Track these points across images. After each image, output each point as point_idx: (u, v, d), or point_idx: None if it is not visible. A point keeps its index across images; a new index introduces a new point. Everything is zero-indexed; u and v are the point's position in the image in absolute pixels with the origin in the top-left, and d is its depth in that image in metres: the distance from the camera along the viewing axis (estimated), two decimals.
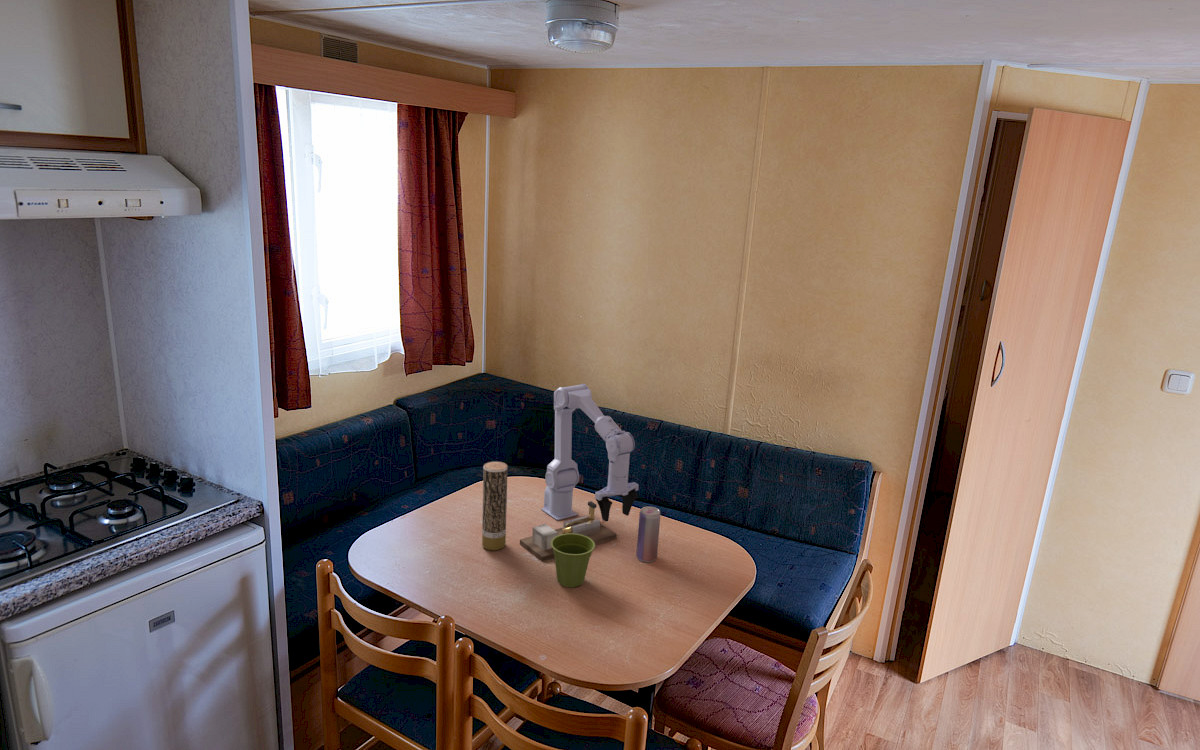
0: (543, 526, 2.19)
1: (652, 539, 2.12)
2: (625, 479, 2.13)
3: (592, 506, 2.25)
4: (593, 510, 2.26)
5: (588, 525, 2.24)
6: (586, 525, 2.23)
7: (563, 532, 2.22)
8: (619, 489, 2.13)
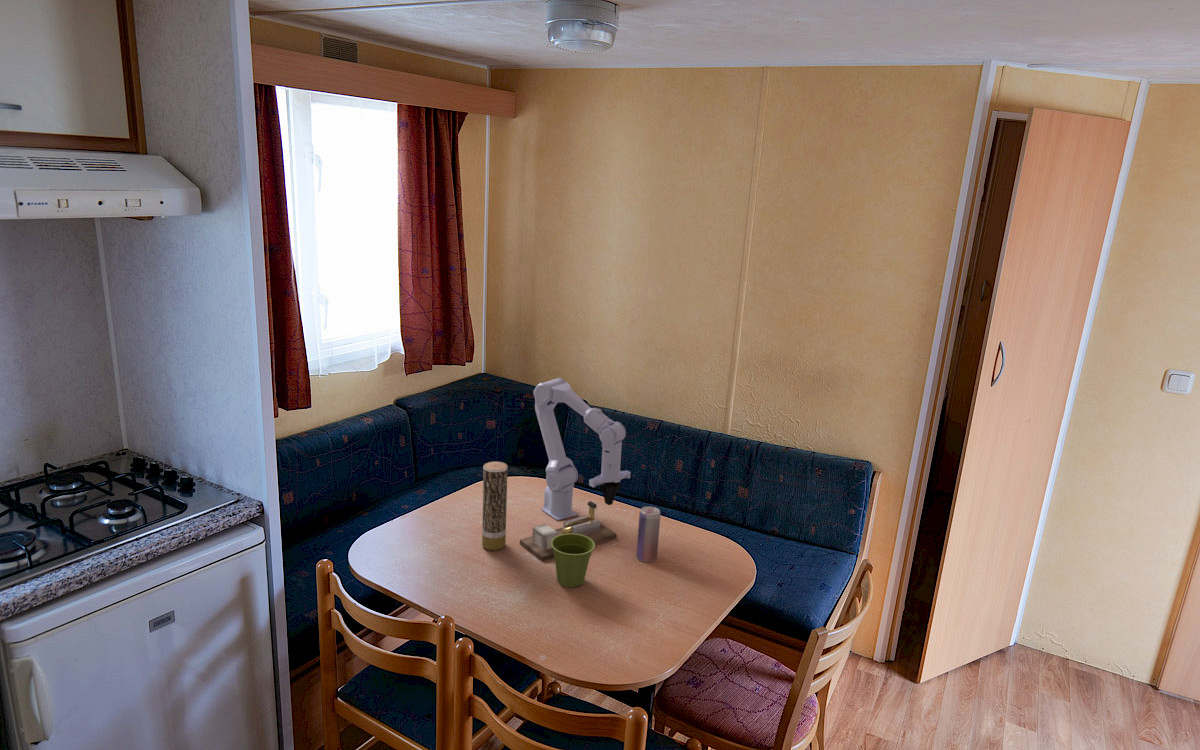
0: (543, 526, 2.19)
1: (652, 539, 2.12)
2: (617, 467, 2.25)
3: (592, 506, 2.25)
4: (593, 510, 2.26)
5: (588, 525, 2.24)
6: (586, 525, 2.23)
7: (563, 532, 2.22)
8: (612, 476, 2.25)
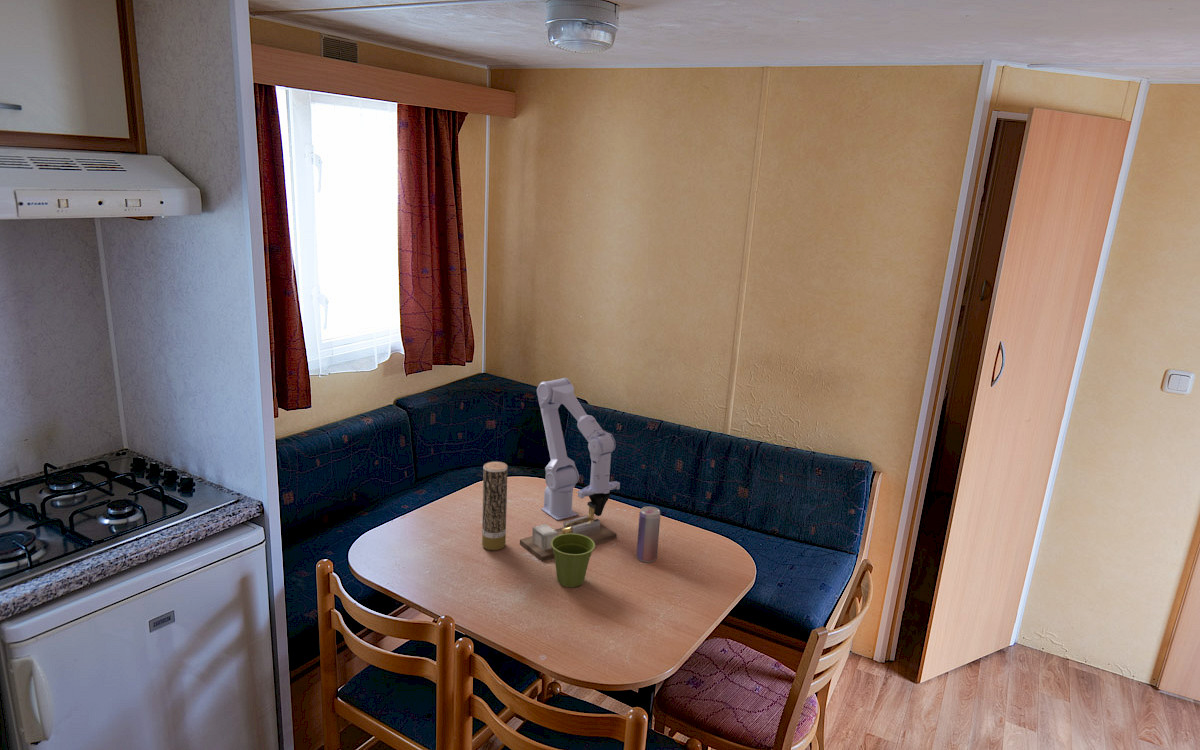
0: (543, 526, 2.19)
1: (652, 539, 2.12)
2: (606, 478, 2.23)
3: (592, 506, 2.25)
4: (593, 510, 2.26)
5: (588, 525, 2.24)
6: (586, 525, 2.23)
7: (563, 532, 2.22)
8: (601, 488, 2.23)
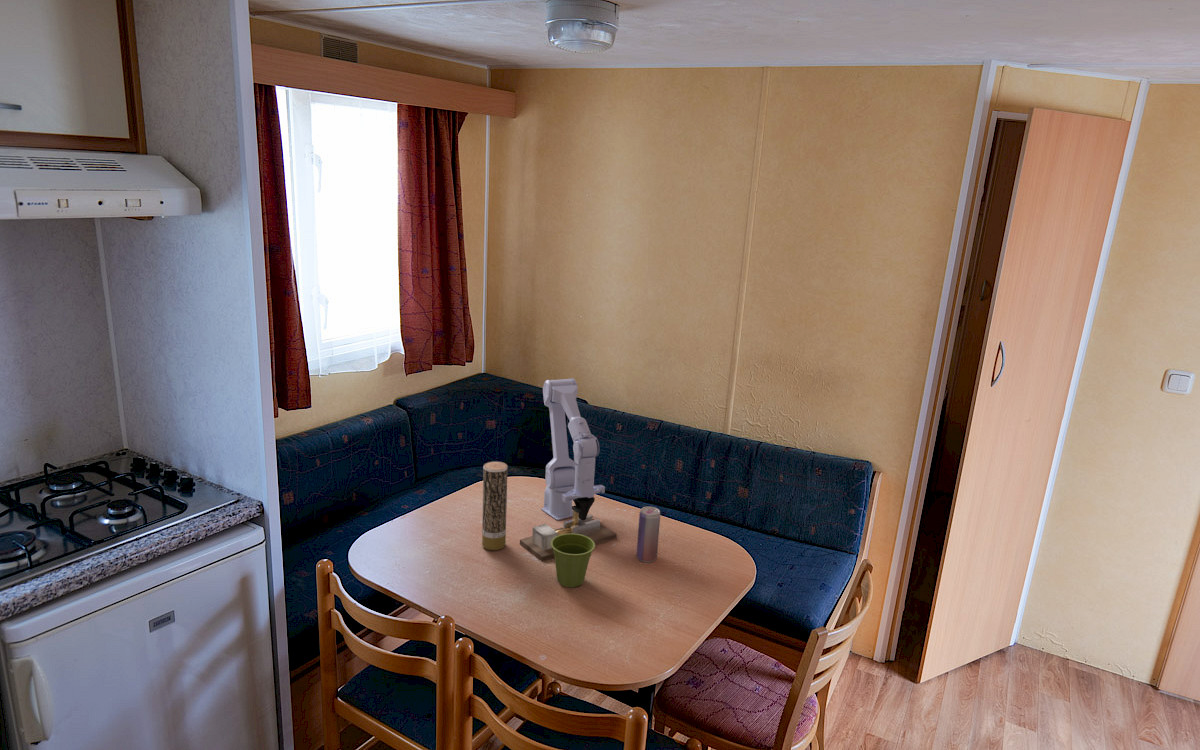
0: (543, 526, 2.19)
1: (652, 539, 2.12)
2: (591, 482, 2.20)
3: (576, 510, 2.21)
4: (577, 515, 2.22)
5: (588, 525, 2.24)
6: (586, 525, 2.23)
7: None
8: (585, 491, 2.19)
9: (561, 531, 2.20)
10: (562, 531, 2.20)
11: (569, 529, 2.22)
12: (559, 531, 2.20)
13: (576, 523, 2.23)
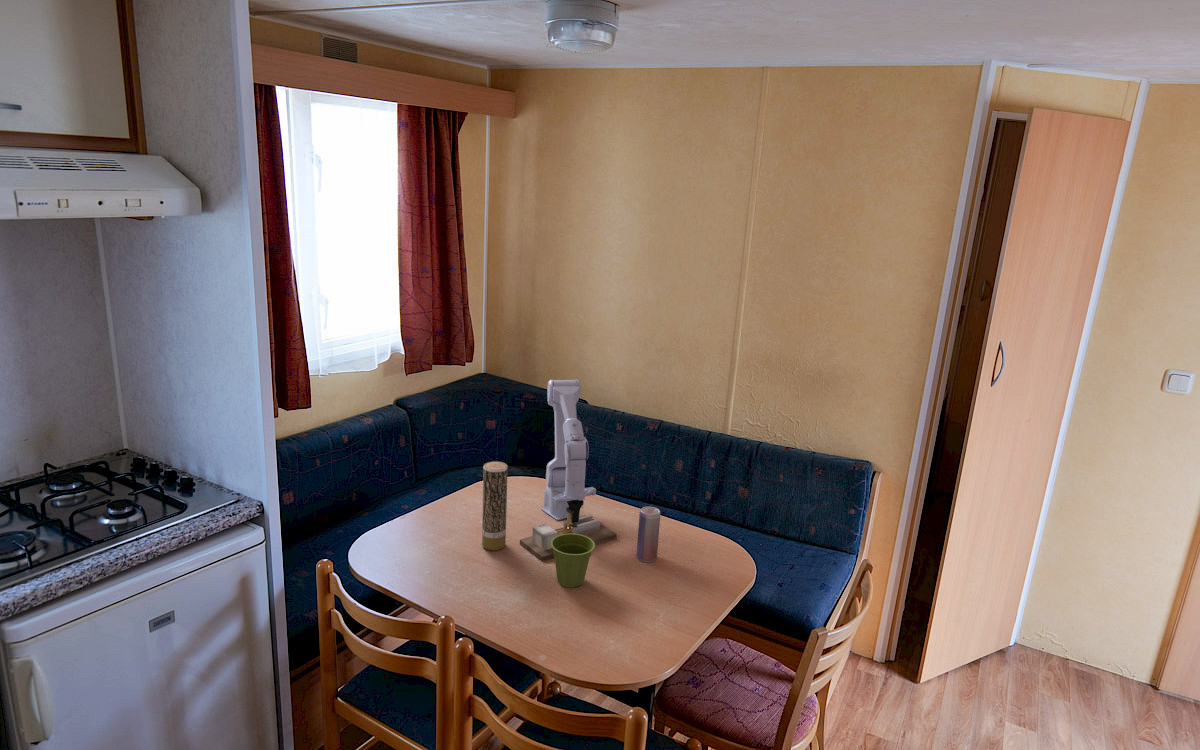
0: (543, 526, 2.19)
1: (652, 539, 2.12)
2: (581, 484, 2.18)
3: (570, 512, 2.20)
4: (572, 516, 2.21)
5: (588, 525, 2.24)
6: (586, 525, 2.23)
7: None
8: (576, 494, 2.17)
9: None
10: None
11: (563, 531, 2.20)
12: None
13: (570, 525, 2.22)
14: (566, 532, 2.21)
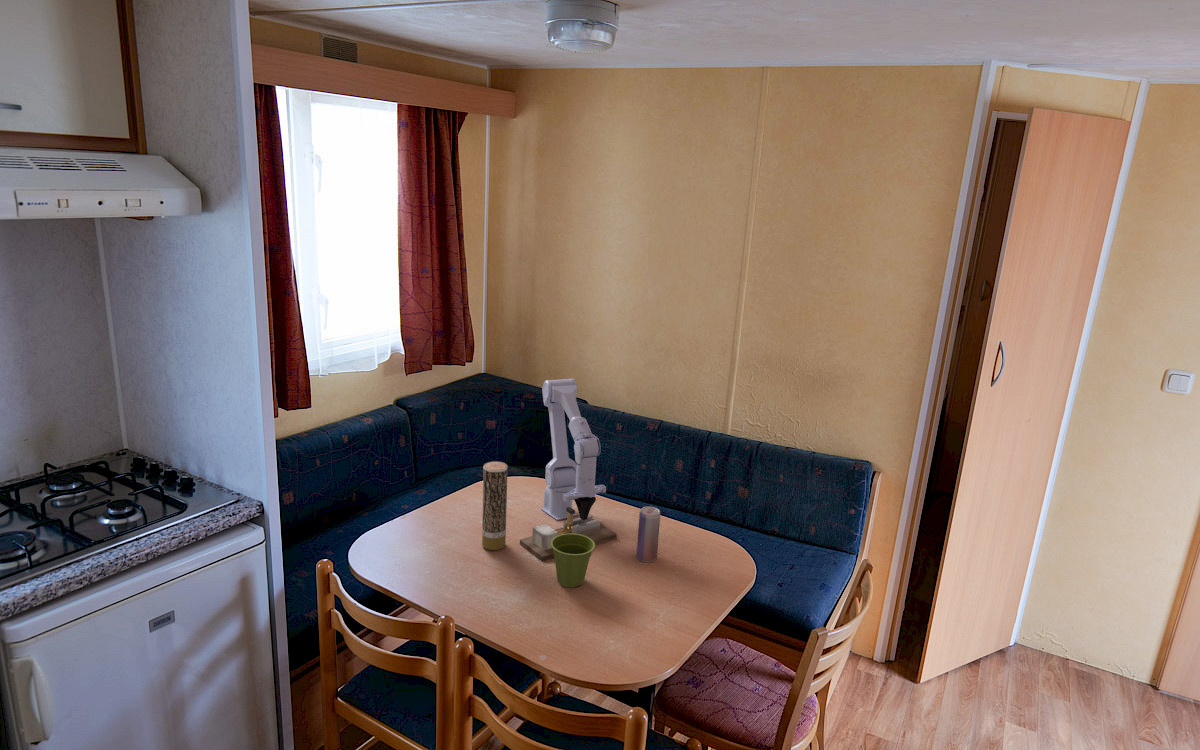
0: (543, 526, 2.19)
1: (652, 539, 2.12)
2: (592, 481, 2.20)
3: (570, 512, 2.20)
4: (572, 516, 2.21)
5: (588, 525, 2.24)
6: (586, 525, 2.23)
7: None
8: (586, 491, 2.20)
9: None
10: None
11: (563, 531, 2.20)
12: None
13: (570, 525, 2.22)
14: (566, 532, 2.21)
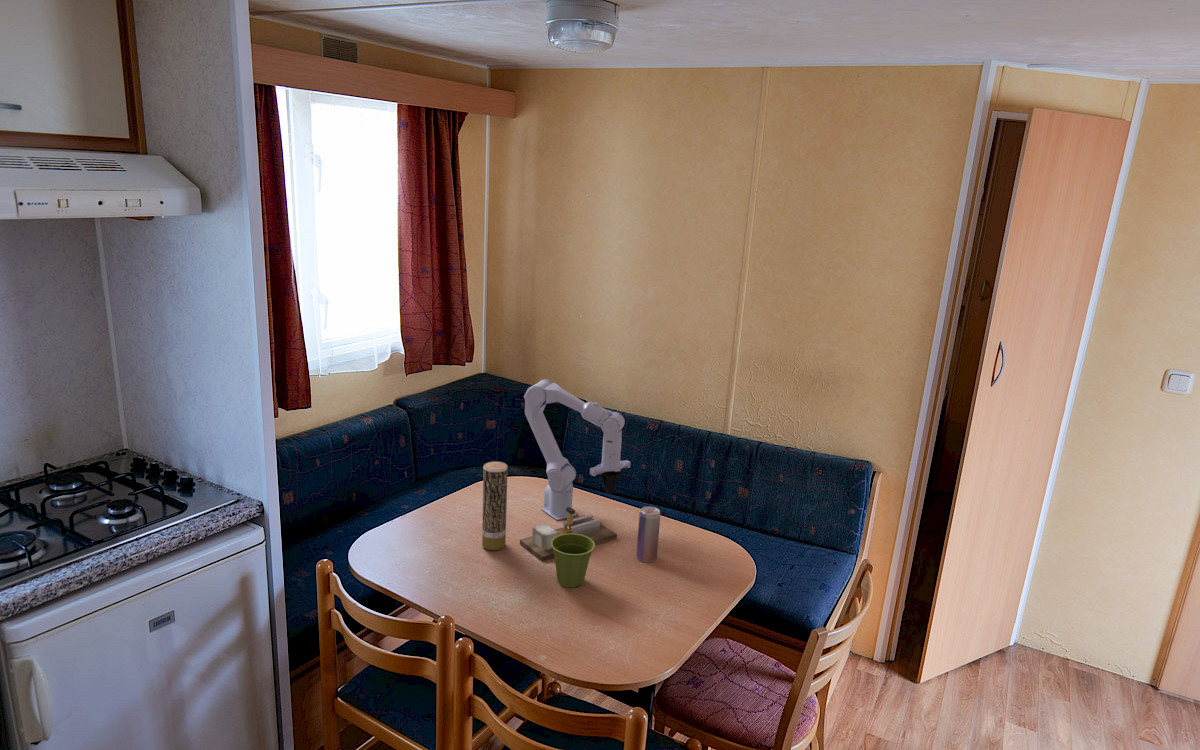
0: (543, 526, 2.19)
1: (652, 539, 2.12)
2: (618, 456, 2.29)
3: (570, 512, 2.20)
4: (572, 516, 2.21)
5: (588, 525, 2.24)
6: (586, 525, 2.23)
7: None
8: (612, 466, 2.29)
9: None
10: None
11: (563, 531, 2.20)
12: None
13: (570, 525, 2.22)
14: (566, 532, 2.21)
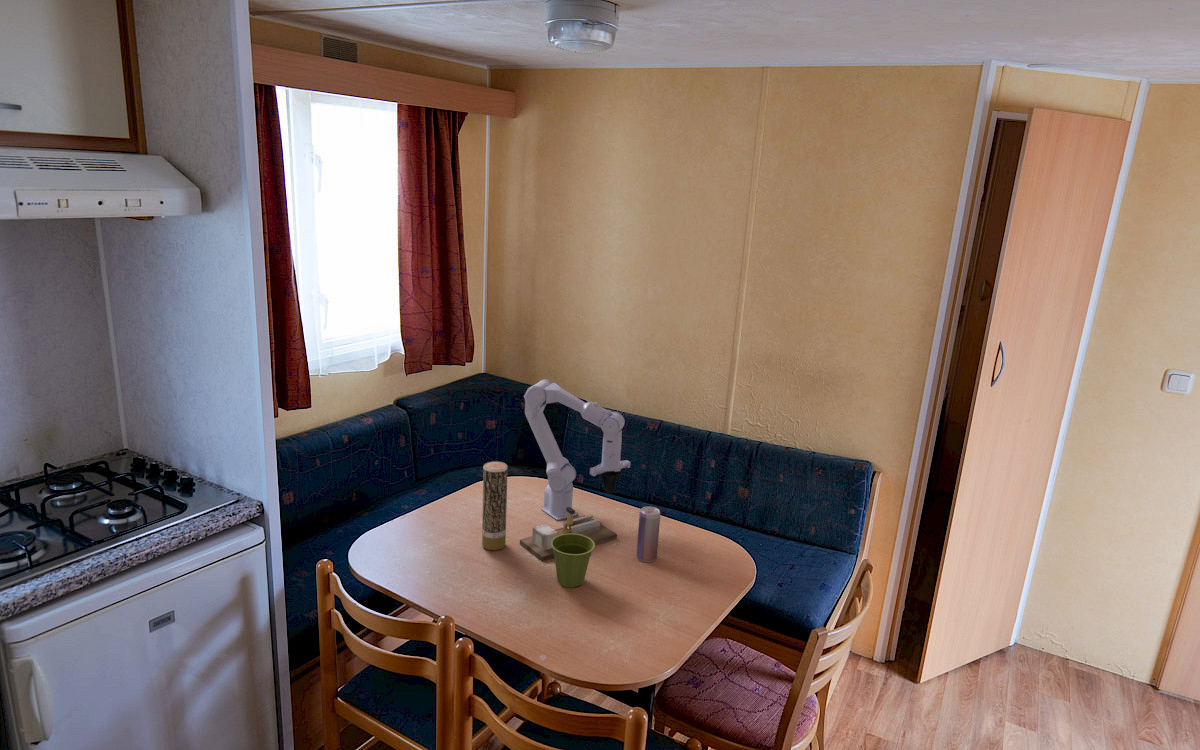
0: (543, 526, 2.19)
1: (652, 539, 2.12)
2: (618, 456, 2.29)
3: (570, 512, 2.20)
4: (572, 516, 2.21)
5: (588, 525, 2.24)
6: (586, 525, 2.23)
7: None
8: (612, 466, 2.29)
9: None
10: None
11: (563, 531, 2.20)
12: None
13: (570, 525, 2.22)
14: (566, 532, 2.21)
